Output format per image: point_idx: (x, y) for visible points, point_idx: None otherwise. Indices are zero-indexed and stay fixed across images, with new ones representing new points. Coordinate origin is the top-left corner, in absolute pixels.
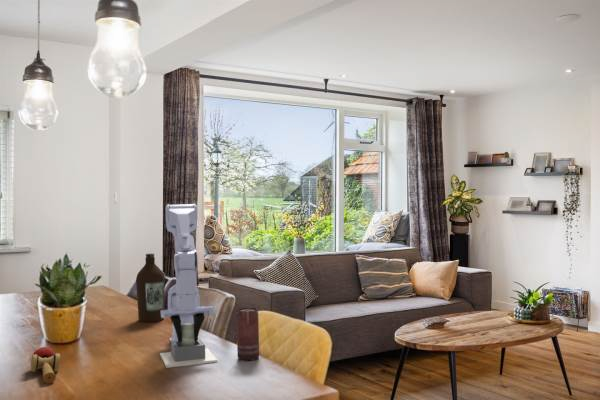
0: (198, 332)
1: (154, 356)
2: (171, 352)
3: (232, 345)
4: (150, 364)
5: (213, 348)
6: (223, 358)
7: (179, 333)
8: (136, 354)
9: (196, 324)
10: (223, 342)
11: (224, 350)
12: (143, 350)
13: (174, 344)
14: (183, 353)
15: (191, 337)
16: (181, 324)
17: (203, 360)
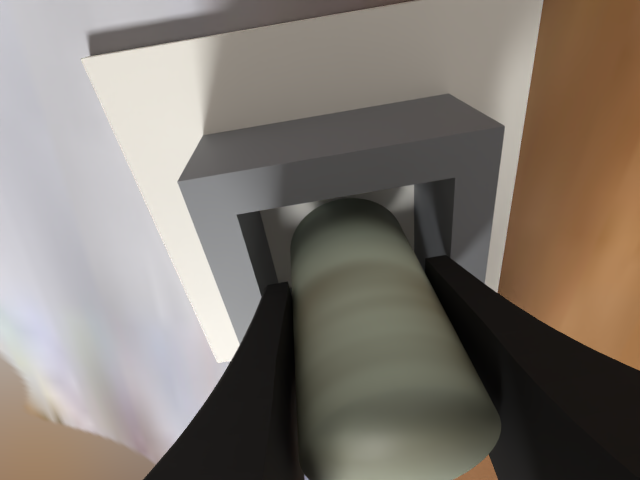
0: (245, 339)
1: (522, 293)
2: None
3: (83, 406)
4: (604, 129)
5: (187, 374)
6: (62, 160)
7: (489, 305)
8: (591, 338)
9: (263, 427)
10: (149, 447)
11: (109, 335)
12: None
13: (473, 262)
14: (397, 123)
15: (329, 280)
16: (470, 467)
17: (212, 71)
